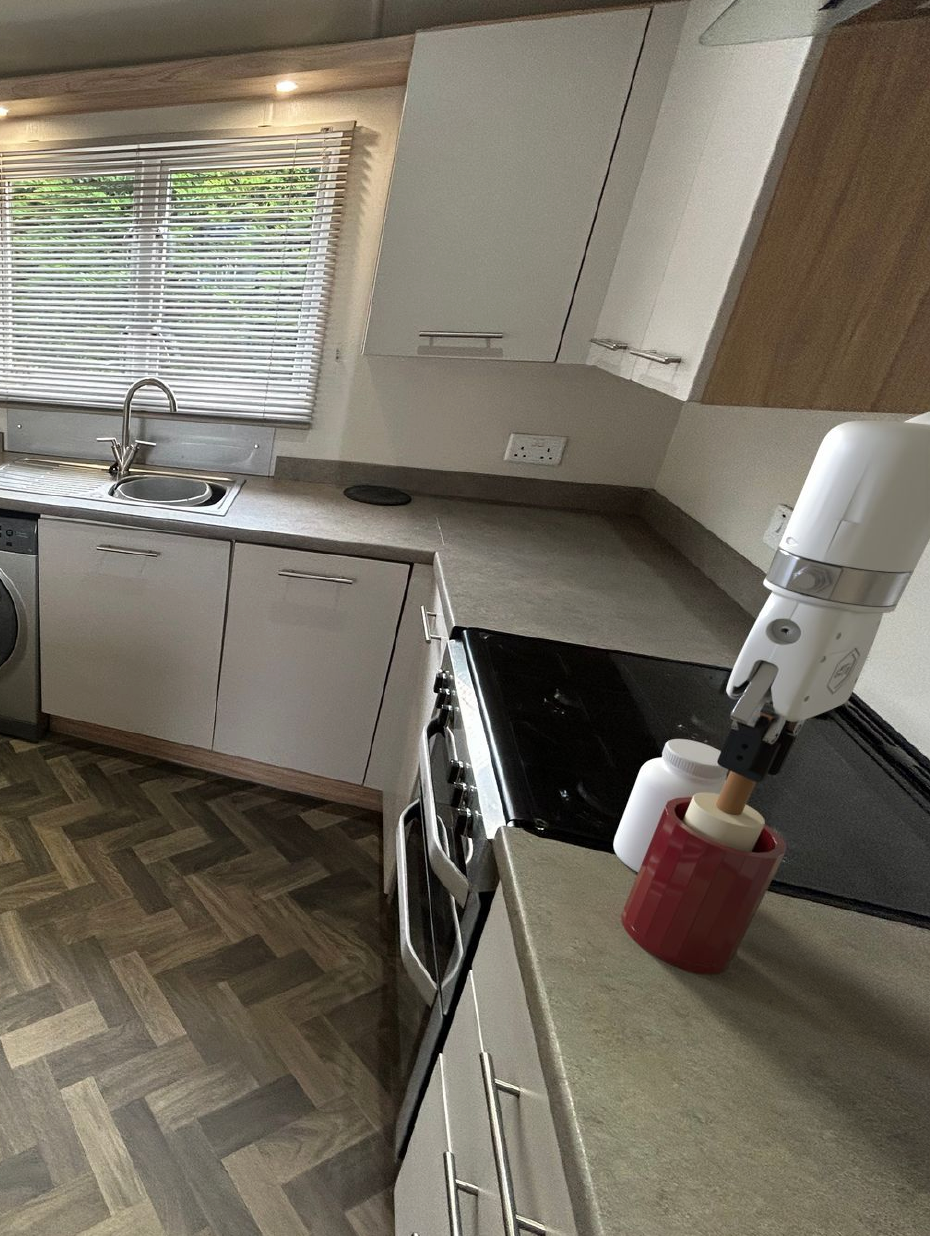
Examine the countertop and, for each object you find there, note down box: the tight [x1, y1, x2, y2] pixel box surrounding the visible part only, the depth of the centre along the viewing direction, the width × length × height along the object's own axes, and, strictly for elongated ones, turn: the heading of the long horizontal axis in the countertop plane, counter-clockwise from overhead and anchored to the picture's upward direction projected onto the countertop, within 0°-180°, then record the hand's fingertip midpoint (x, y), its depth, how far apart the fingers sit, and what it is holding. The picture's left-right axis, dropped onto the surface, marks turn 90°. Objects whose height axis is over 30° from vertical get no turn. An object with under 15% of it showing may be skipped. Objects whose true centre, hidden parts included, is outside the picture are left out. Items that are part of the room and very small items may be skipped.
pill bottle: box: [612, 738, 729, 873], centre depth 78 cm, size 8×8×15 cm
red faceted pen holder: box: [620, 797, 787, 975], centre depth 69 cm, size 8×8×14 cm
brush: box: [682, 712, 773, 852], centre depth 65 cm, size 5×5×17 cm
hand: (747, 768), depth 64 cm, fingers closed on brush
